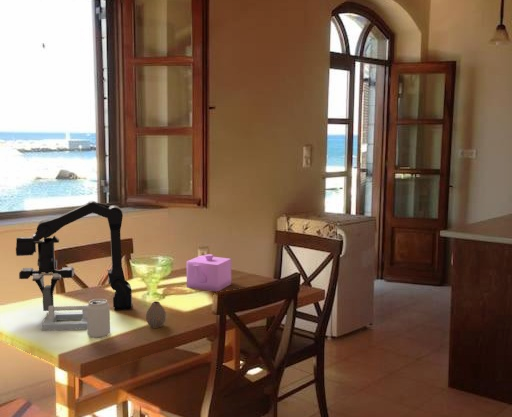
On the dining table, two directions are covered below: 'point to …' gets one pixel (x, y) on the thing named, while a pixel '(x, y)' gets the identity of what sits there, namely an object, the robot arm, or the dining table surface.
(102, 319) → the can
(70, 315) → the square frame
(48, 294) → the tall grey upright block
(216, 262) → the pink knobbed box
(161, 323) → the vase
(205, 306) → the dining table surface
